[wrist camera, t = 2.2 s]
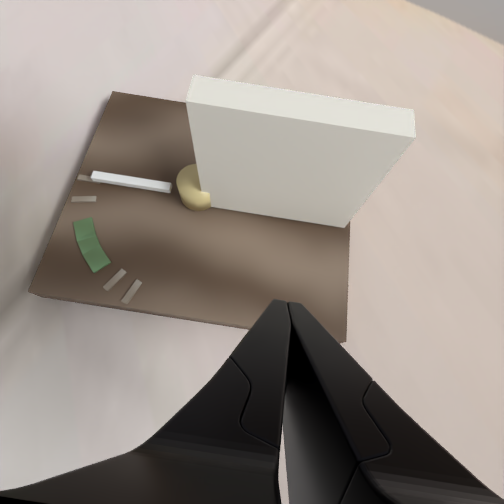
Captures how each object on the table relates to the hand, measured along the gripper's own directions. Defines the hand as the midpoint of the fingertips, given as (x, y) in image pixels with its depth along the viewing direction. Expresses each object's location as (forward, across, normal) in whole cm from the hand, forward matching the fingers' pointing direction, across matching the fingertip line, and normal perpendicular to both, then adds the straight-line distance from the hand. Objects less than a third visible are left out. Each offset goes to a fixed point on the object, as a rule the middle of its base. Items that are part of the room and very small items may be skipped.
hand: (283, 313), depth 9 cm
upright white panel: (+14, +4, +1) cm, 14 cm away
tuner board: (+15, +4, +2) cm, 16 cm away
